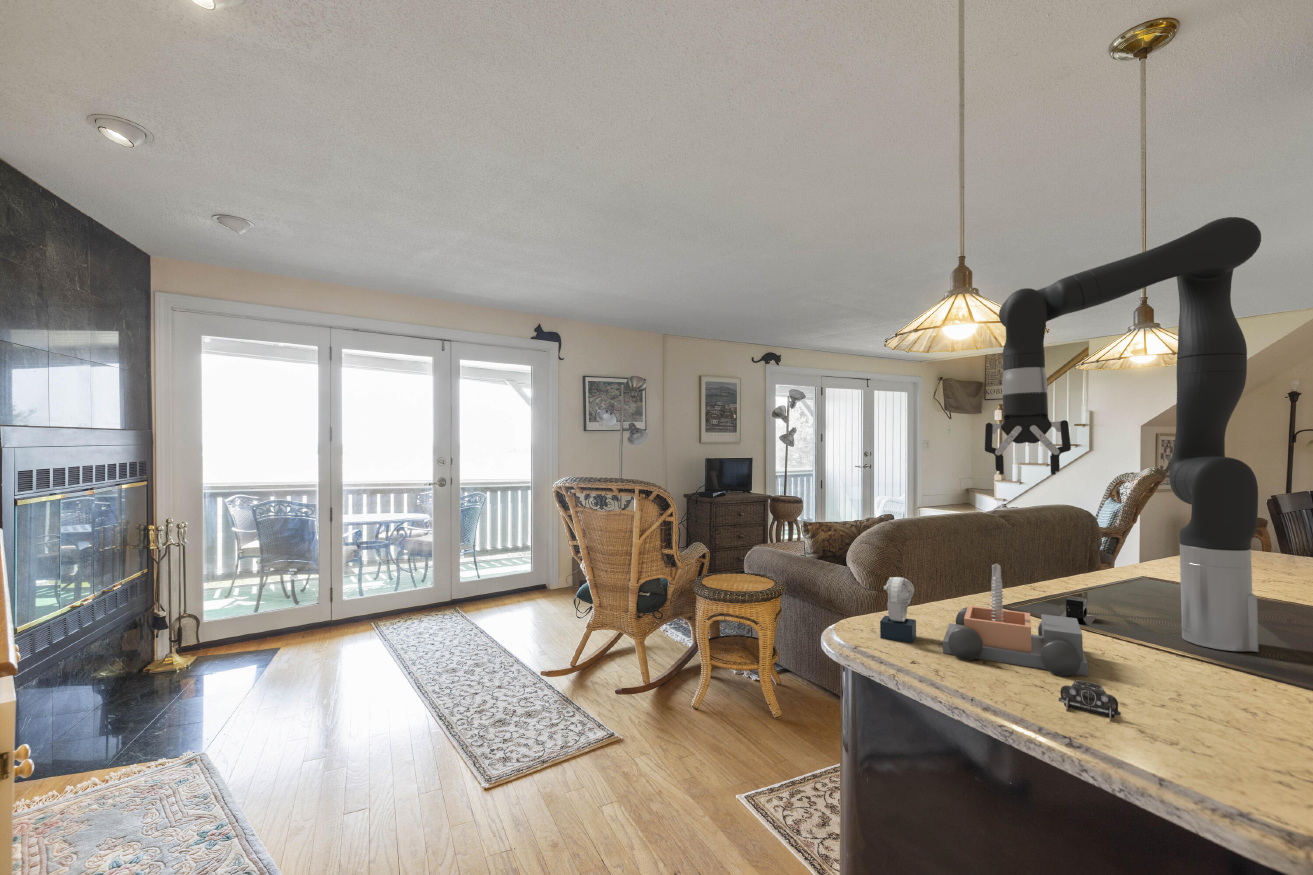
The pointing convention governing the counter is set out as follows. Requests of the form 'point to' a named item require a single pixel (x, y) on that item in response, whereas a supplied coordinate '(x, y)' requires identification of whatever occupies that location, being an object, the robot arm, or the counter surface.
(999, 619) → the screw
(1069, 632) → the toy chassis
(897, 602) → the bust statue
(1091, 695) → the car cutout
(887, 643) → the counter surface
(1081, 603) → the black boxy piece
